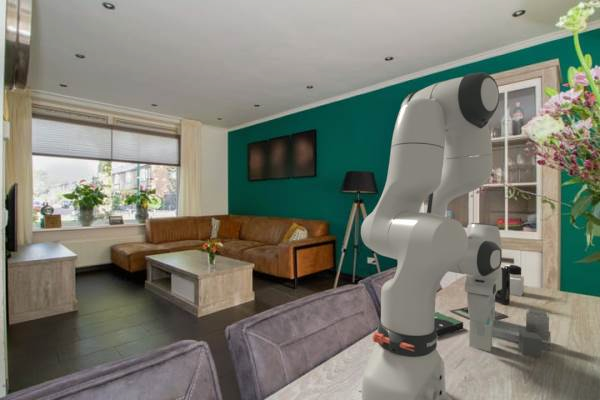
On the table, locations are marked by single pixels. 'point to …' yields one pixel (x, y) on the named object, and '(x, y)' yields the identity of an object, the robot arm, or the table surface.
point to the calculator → (464, 313)
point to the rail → (523, 327)
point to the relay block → (530, 344)
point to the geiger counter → (504, 288)
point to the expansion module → (481, 337)
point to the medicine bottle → (516, 280)
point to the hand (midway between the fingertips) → (483, 328)
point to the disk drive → (446, 324)
